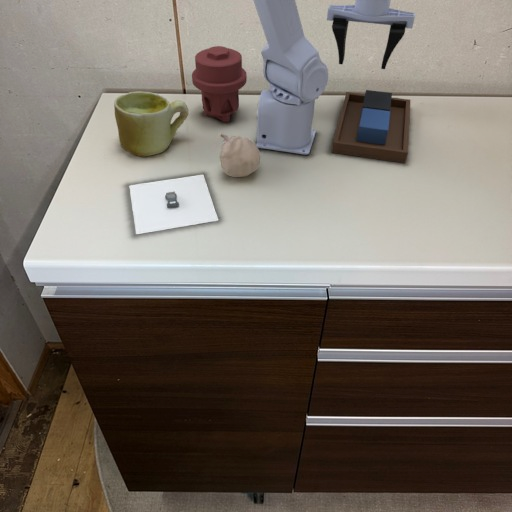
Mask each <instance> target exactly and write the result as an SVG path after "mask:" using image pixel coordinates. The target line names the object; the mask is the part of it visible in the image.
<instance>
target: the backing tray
mask: <svg viewBox="0 0 512 512" xmlns="http://www.w3.org/2000/svg"><path fill="white" fill-rule="evenodd" d="M364 98H365V93H358V92H350V91H346V92H345V95H344V99H343V102H342V107H341V109H340V114H339V117H338V121H337V126H336V129H335V133H334V137H333V140H332V147H331V153H333V154H339V155H346V156H354V157H359V158H368V159H375V160H380V161H387V162H395V163H400V164H401V163H402V164H405V163H406V160H407V157H408V153H409V135H410V117H411V116H410V115H411V99H409V98H400V97H392V98H391V107H390V119H389V128H388V133H387V138H386V142H385V145H380V144H373V143H366V142H359V141H357V135H358V130H359V125H360V119H361V113H362V108H363V103H364Z"/></svg>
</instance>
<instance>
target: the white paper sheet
mask: <svg viewBox="0 0 512 512" xmlns="http://www.w3.org/2000/svg"><path fill="white" fill-rule="evenodd" d="M128 187H129V191H130V192H129V194H130V200H131V209H132V214H133V223H134V229H135V235H141V234H148V233H153V232H159V231H165V230H171V229H177V228H183V227H189V226H194V225H195V226H196V225H200V224H207V223H212V222H218V221H219V218H218V215H217V212H216V209H215V206H214V203H213V200H212V197H211V193H210V190H209V187H208V185H207V181H206V178H205V176H204V174H197V175H190V176H184V177H183V176H182V177H177V178H170V179H163V180H157V181H150V182H149V181H148V182H144V183H137V184H131V185H129V186H128Z"/></svg>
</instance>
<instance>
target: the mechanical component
mask: <svg viewBox="0 0 512 512" xmlns="http://www.w3.org/2000/svg"><path fill="white" fill-rule="evenodd" d="M194 61H195V62H194V63H195V69H194V70H193V71H192V73H191V82H192V84H193V86H194V87H195V88H196V89H198V90H199V91H201V105H202V110H203V115H205V116H207V117H212V118H216V119H217V120H220V121H221V122H223V123H228V122H230V120H231V117H230V115H233V114H234V113H236V112H237V111H238V110H239V108H240V96H239V93H240V91H239V90H241V89H242V88H243V87H245V86H246V84H247V80H248V79H247V75H248V74H247V71H246V69H244V68H243V57H242V54H241V52H239V51H238V50H237V49H236V50H235V49H233V48H229V47H226V46H222V45H215V46H211V47H209V48H205V49H203V50H200V51H199V52H196V54H195V56H194Z"/></svg>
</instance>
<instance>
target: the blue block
mask: <svg viewBox="0 0 512 512" xmlns="http://www.w3.org/2000/svg"><path fill="white" fill-rule="evenodd" d="M389 119H390V111H384V110H376V109H368V108H363V110H362V115H361V120H360V125H359V130H358V135H357V141H359V142H366V143H373V144H380V145H385V142H386V138H387V133H388V128H389Z"/></svg>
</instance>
